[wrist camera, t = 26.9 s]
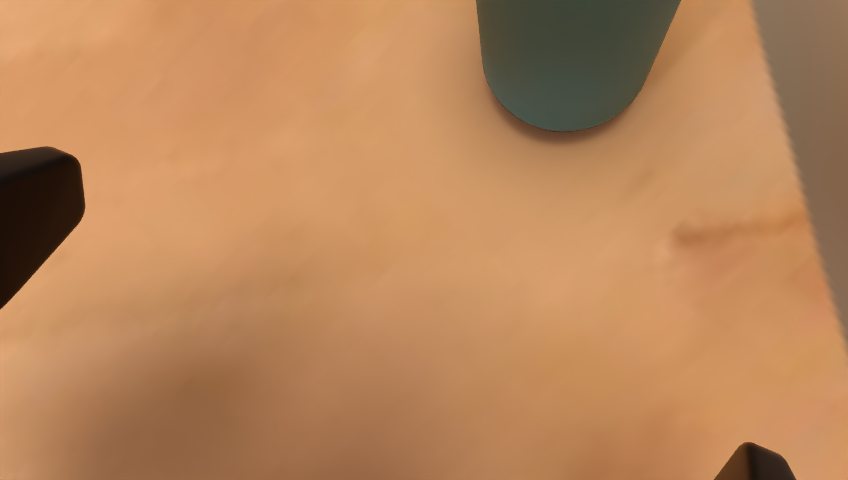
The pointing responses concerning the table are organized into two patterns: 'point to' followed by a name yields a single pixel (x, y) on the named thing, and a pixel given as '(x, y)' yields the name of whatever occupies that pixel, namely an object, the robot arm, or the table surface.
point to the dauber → (570, 56)
